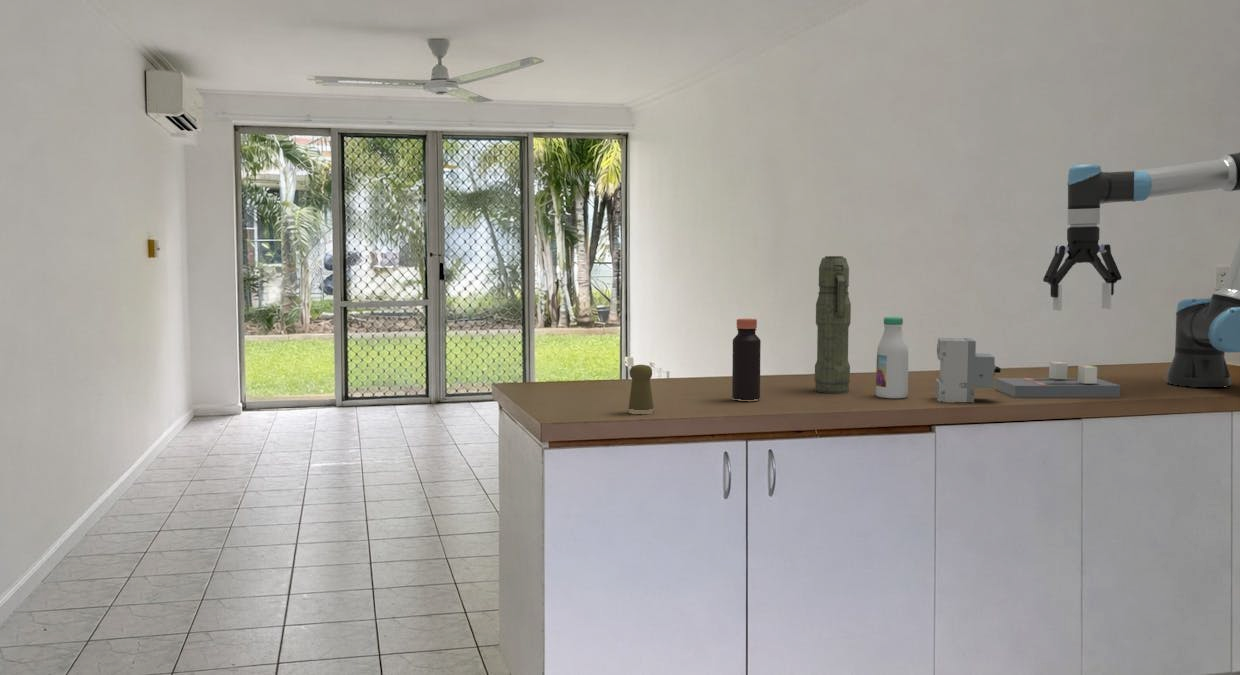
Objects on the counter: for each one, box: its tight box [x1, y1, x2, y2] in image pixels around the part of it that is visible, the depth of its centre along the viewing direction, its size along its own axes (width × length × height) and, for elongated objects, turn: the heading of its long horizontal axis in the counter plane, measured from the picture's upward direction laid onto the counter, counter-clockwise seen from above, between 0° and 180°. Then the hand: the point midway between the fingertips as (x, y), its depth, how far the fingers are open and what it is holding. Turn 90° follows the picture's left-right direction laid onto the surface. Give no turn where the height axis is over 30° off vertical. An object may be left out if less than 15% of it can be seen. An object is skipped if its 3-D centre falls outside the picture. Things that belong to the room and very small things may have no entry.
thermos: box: [814, 255, 852, 394], centre depth 266 cm, size 9×12×35 cm
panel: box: [994, 377, 1122, 399], centre depth 262 cm, size 26×14×3 cm, turn 89°
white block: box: [1077, 365, 1098, 383], centre depth 257 cm, size 3×4×4 cm
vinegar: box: [731, 318, 762, 400], centre depth 252 cm, size 7×7×20 cm
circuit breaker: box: [935, 337, 1001, 404], centre depth 251 cm, size 8×14×15 cm, turn 79°
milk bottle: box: [875, 316, 909, 399], centre depth 257 cm, size 8×8×20 cm
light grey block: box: [1048, 361, 1069, 379], centre depth 265 cm, size 3×4×4 cm
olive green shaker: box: [628, 364, 654, 410], centre depth 235 cm, size 6×6×11 cm
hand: (1081, 309), depth 263 cm, fingers open, 13 cm apart
